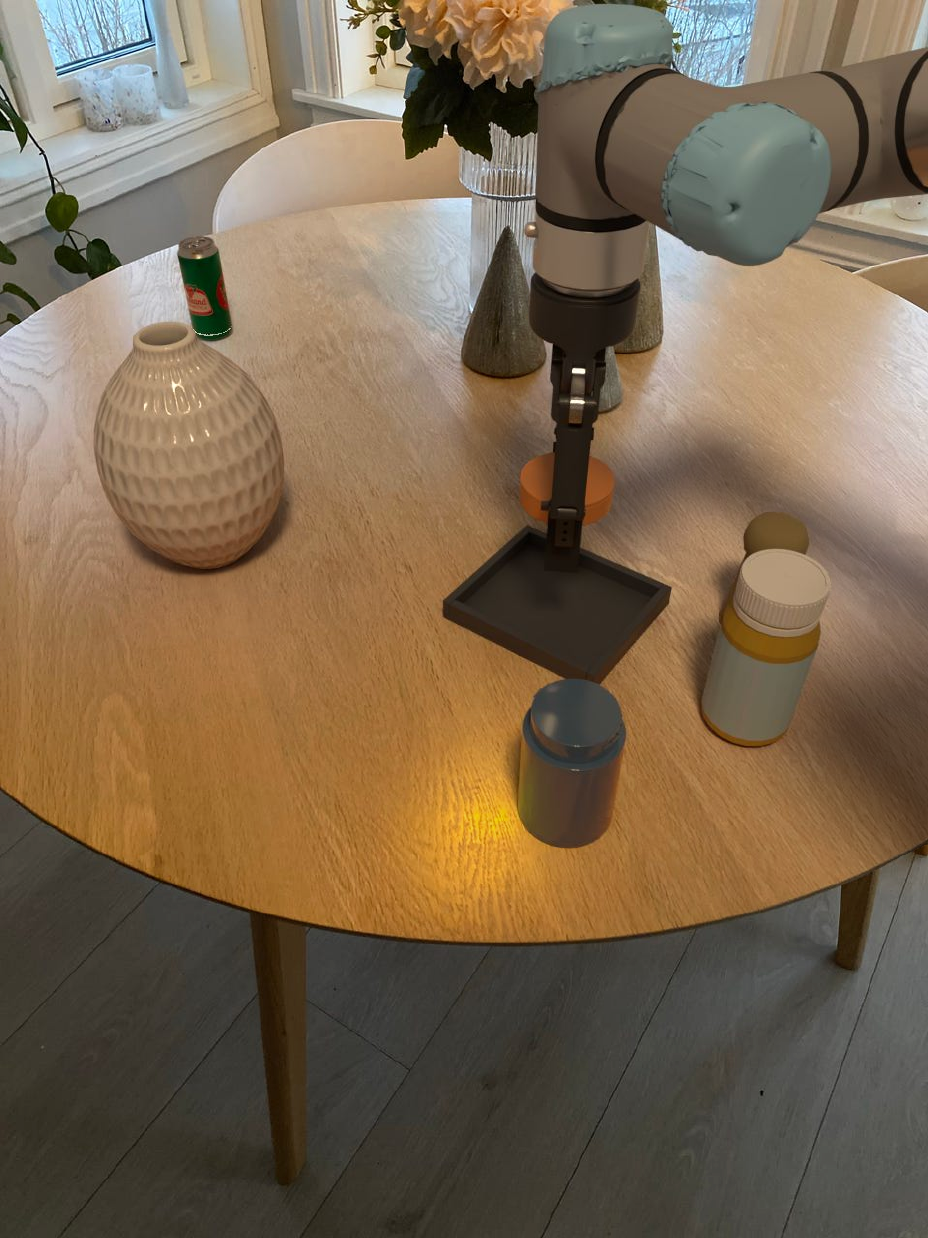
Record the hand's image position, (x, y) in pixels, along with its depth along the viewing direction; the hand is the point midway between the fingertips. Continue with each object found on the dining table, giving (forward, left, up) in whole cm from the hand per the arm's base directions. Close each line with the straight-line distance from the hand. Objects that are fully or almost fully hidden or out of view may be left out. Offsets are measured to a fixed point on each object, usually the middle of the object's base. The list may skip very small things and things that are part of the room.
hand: (562, 536), depth 81 cm
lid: (0, 0, +6) cm, 6 cm away
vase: (+32, +12, -9) cm, 35 cm away
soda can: (+65, -19, -9) cm, 68 cm away
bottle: (-19, +2, -9) cm, 21 cm away
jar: (-12, +18, -8) cm, 23 cm away
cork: (-15, -9, -9) cm, 20 cm away
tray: (0, 0, -8) cm, 8 cm away
